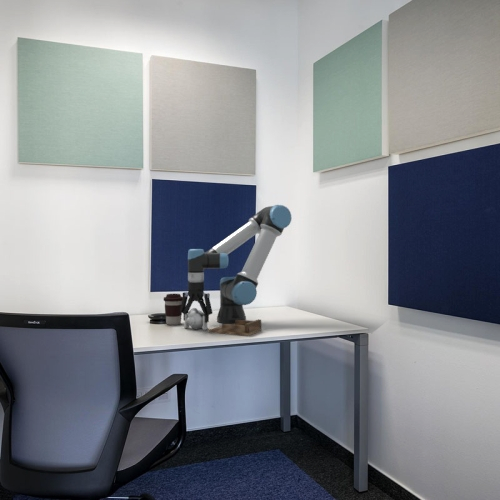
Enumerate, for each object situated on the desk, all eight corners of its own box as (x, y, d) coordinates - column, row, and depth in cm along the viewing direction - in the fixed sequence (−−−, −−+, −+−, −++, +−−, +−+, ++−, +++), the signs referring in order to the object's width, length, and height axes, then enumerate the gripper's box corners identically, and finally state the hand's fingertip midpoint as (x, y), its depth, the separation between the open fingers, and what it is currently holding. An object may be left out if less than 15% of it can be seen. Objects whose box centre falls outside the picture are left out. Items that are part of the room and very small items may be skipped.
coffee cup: (172, 321, 246) (172, 292, 245) (187, 323, 241) (187, 293, 240) (159, 324, 237) (159, 294, 237) (174, 326, 232) (174, 295, 232)
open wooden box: (208, 332, 216) (208, 321, 216) (223, 327, 228) (223, 316, 228) (247, 336, 207) (247, 324, 207) (261, 330, 219) (261, 319, 219)
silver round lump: (185, 327, 228) (185, 307, 228) (204, 326, 230) (204, 306, 230) (187, 331, 219) (187, 309, 219) (207, 330, 221) (207, 308, 221)
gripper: (172, 281, 226) (172, 327, 226) (211, 282, 216) (211, 331, 216) (181, 280, 233) (181, 325, 233) (220, 281, 223) (220, 329, 223)
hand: (196, 328), depth 225 cm, fingers open, 9 cm apart
